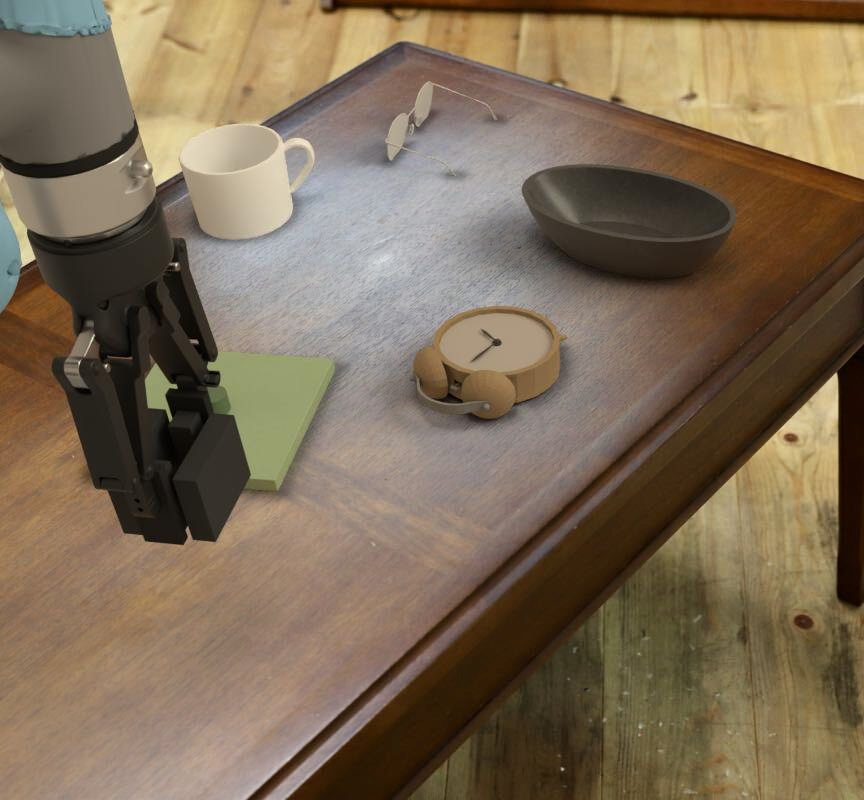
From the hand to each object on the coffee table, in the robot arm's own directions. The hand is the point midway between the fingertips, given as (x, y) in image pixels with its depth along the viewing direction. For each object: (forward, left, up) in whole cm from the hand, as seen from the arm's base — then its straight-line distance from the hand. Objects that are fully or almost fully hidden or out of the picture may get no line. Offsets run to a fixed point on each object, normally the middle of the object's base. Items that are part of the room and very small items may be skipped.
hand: (187, 500), depth 93 cm
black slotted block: (0, 0, 0) cm, 0 cm away
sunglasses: (-1, +71, -13) cm, 73 cm away
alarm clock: (+13, +30, -13) cm, 36 cm away
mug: (-17, +55, -13) cm, 60 cm away
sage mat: (-9, +22, -13) cm, 28 cm away
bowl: (+23, +51, -13) cm, 58 cm away
